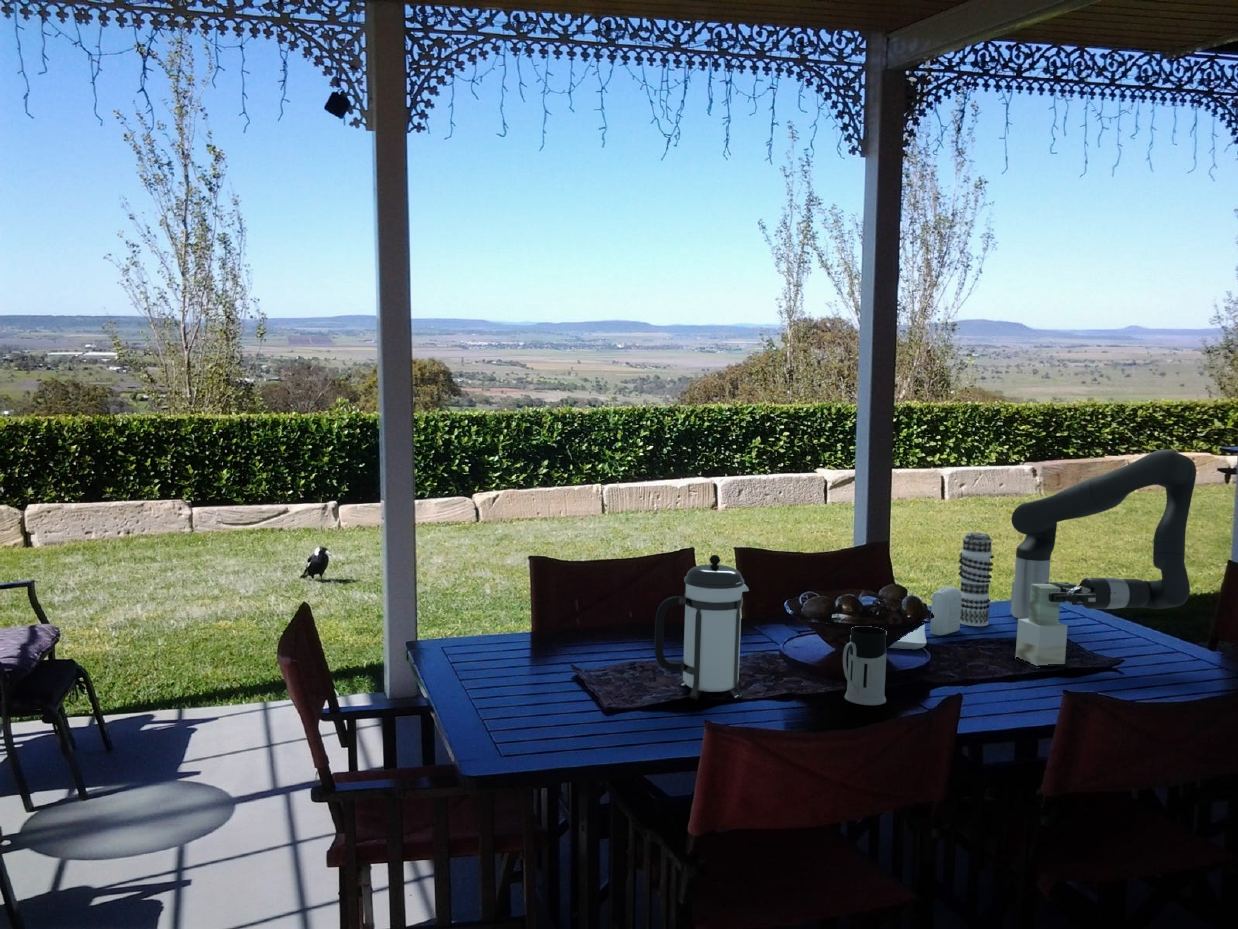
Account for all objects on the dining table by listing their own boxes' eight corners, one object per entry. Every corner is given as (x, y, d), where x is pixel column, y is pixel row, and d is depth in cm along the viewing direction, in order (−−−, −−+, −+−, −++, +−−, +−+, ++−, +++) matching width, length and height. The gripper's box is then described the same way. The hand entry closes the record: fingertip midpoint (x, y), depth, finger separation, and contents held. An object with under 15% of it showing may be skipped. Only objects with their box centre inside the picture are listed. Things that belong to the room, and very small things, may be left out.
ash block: (1015, 659, 270) (1016, 639, 270) (1043, 657, 273) (1044, 637, 272) (1036, 668, 263) (1037, 647, 262) (1064, 666, 265) (1065, 646, 265)
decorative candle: (967, 616, 312) (972, 530, 310) (996, 623, 305) (1002, 534, 303) (948, 621, 306) (953, 532, 304) (978, 628, 299) (983, 537, 297)
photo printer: (947, 627, 299) (949, 583, 298) (961, 630, 296) (964, 585, 295) (927, 633, 292) (930, 588, 291) (942, 637, 289) (944, 591, 288)
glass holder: (893, 698, 236) (897, 630, 235) (860, 714, 226) (863, 642, 224) (857, 689, 242) (860, 623, 240) (823, 704, 231) (826, 634, 230)
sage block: (1028, 619, 269) (1030, 583, 268) (1047, 619, 269) (1050, 583, 269) (1038, 625, 264) (1041, 588, 263) (1058, 625, 265) (1060, 588, 264)
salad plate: (839, 648, 277) (839, 635, 276) (842, 628, 297) (843, 616, 297) (926, 656, 272) (927, 642, 271) (924, 635, 292) (924, 622, 292)
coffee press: (698, 675, 249) (702, 545, 246) (758, 691, 239) (763, 555, 236) (651, 693, 236) (655, 555, 233) (712, 709, 226) (717, 566, 223)
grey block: (1016, 639, 270) (1018, 619, 270) (1043, 637, 273) (1045, 617, 272) (1038, 647, 262) (1039, 627, 262) (1066, 645, 265) (1067, 625, 264)
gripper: (1089, 572, 274) (1027, 572, 272) (1121, 584, 260) (1056, 584, 258) (1087, 601, 275) (1025, 601, 273) (1119, 615, 261) (1054, 615, 259)
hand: (1040, 593), depth 266 cm, fingers open, 8 cm apart
